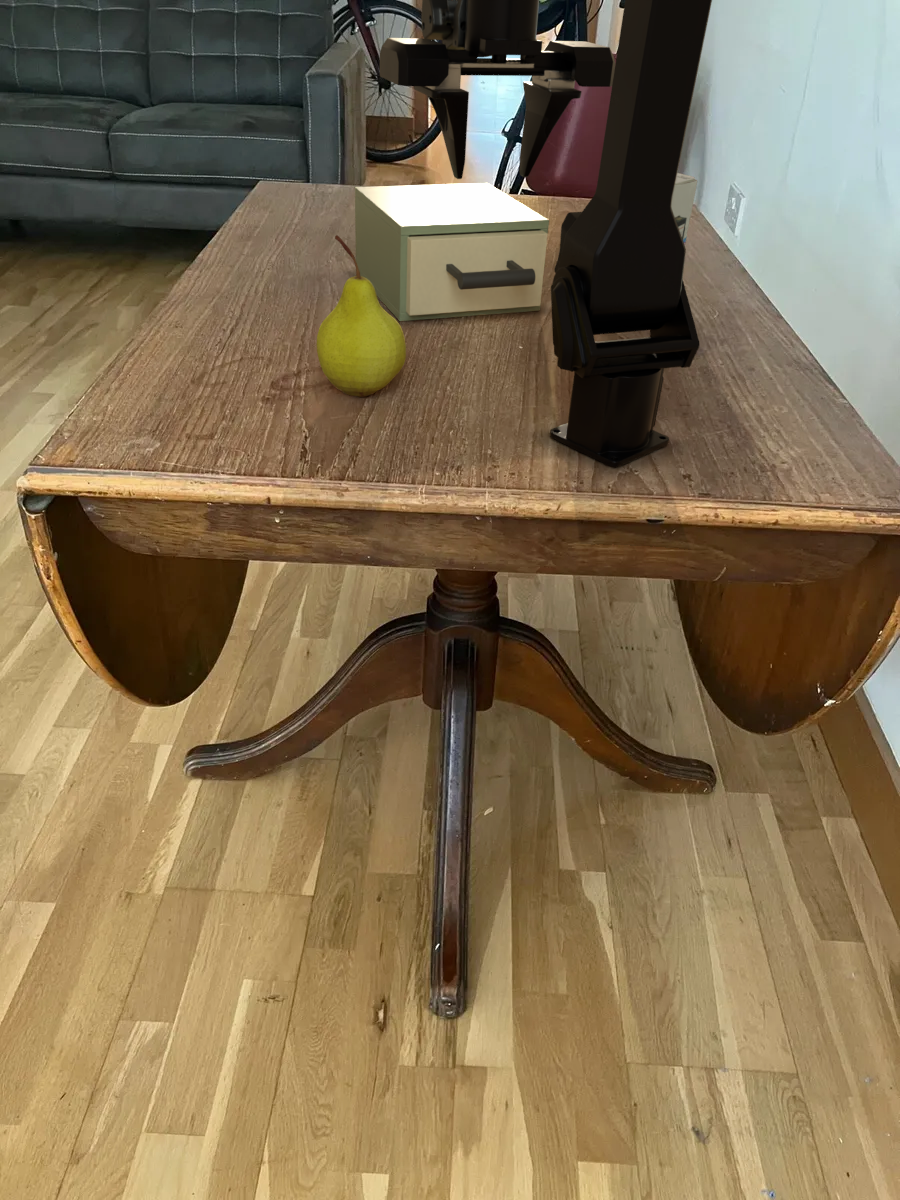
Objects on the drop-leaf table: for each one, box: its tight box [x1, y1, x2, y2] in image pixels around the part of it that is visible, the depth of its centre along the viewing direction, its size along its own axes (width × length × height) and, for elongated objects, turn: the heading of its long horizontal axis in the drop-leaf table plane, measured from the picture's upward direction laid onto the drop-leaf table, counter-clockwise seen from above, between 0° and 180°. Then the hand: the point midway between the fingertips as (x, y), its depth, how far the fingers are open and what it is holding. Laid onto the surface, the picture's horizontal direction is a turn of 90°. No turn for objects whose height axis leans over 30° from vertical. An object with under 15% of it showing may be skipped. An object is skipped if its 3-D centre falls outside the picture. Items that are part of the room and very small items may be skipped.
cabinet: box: [354, 182, 550, 322], centre depth 94 cm, size 16×15×9 cm
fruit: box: [316, 234, 407, 398], centre depth 71 cm, size 7×7×12 cm
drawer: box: [406, 230, 549, 316], centre depth 91 cm, size 19×13×7 cm
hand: (491, 177), depth 81 cm, fingers open, 6 cm apart
